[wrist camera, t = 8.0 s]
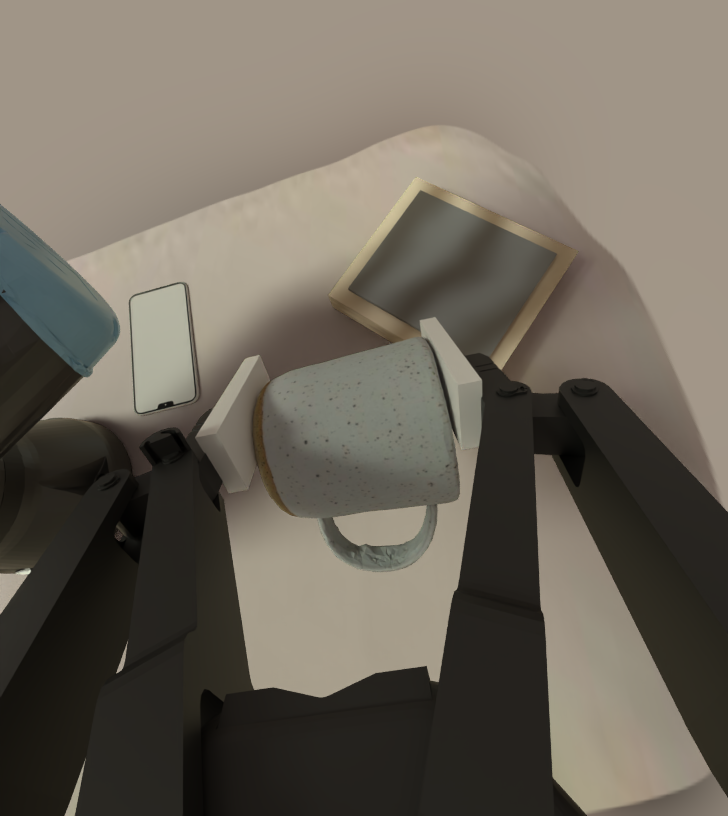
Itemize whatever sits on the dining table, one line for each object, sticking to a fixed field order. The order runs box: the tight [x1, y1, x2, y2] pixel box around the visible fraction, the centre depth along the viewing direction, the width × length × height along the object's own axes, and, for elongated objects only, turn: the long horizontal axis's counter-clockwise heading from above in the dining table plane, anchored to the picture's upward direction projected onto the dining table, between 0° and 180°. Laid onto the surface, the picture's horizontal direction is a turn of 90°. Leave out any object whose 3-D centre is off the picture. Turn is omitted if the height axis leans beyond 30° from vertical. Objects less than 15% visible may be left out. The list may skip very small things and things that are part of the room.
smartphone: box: [129, 282, 199, 416], centre depth 37 cm, size 7×1×15 cm
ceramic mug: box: [253, 337, 460, 572], centre depth 16 cm, size 11×8×8 cm
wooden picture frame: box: [328, 177, 579, 370], centre depth 33 cm, size 18×16×3 cm
